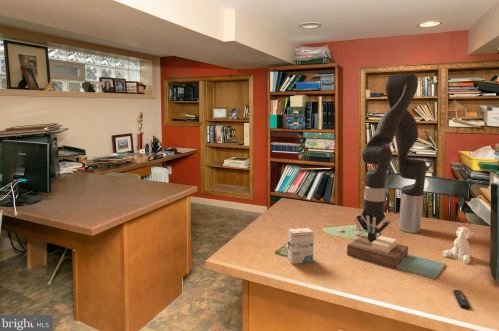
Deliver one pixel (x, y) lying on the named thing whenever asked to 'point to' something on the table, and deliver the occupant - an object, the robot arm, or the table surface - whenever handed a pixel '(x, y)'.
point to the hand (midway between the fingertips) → (371, 241)
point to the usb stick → (461, 299)
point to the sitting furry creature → (460, 246)
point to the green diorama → (348, 231)
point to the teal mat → (421, 266)
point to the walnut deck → (376, 252)
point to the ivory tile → (384, 244)
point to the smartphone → (283, 251)
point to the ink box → (300, 245)
